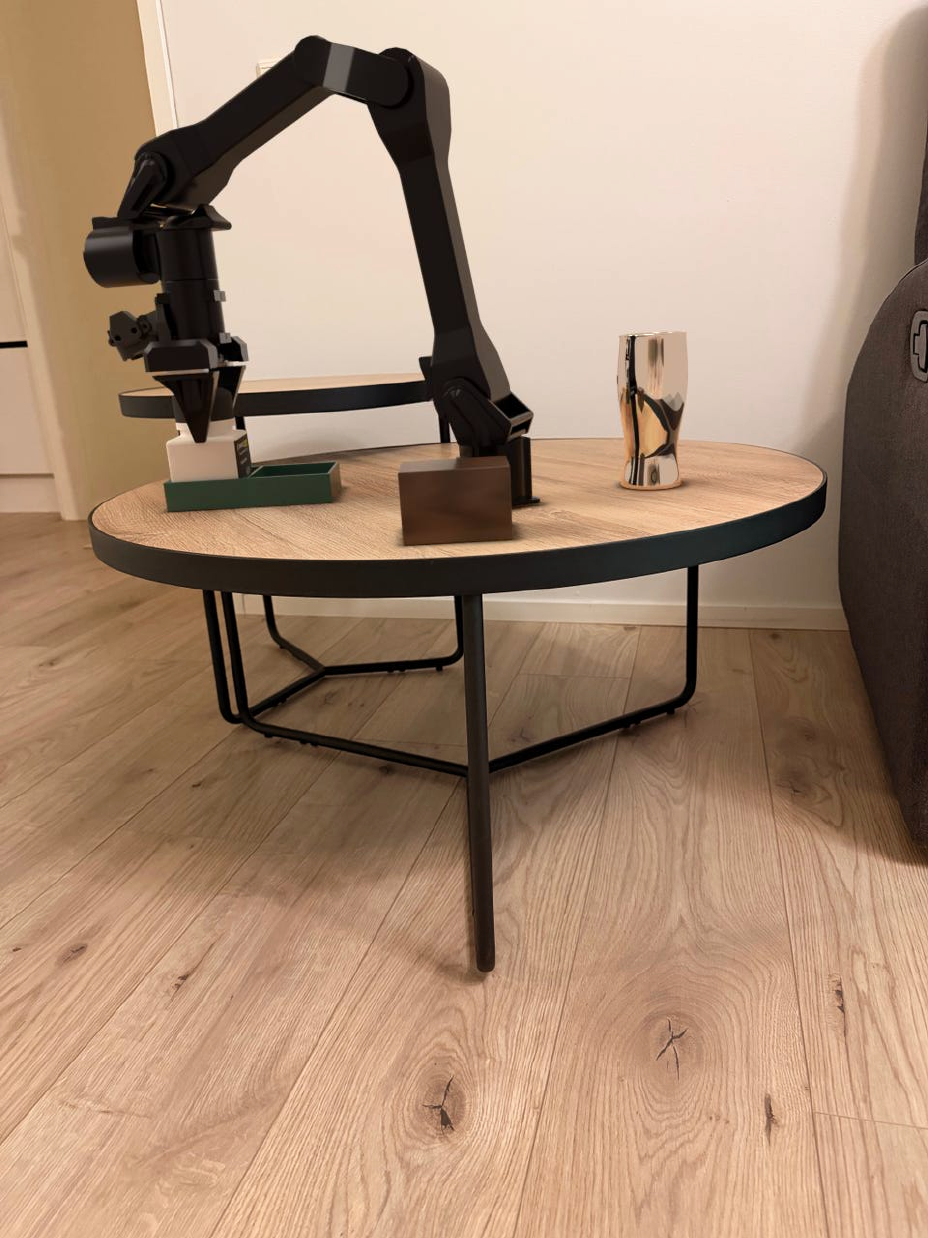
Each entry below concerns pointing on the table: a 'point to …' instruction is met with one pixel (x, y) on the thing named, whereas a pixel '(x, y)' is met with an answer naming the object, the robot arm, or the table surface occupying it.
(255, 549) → the table surface
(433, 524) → the walnut stand
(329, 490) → the divided tray
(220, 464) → the medicine bottle
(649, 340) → the beer glass
